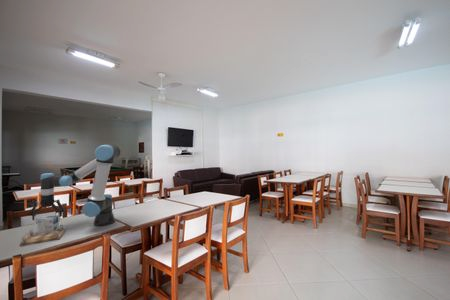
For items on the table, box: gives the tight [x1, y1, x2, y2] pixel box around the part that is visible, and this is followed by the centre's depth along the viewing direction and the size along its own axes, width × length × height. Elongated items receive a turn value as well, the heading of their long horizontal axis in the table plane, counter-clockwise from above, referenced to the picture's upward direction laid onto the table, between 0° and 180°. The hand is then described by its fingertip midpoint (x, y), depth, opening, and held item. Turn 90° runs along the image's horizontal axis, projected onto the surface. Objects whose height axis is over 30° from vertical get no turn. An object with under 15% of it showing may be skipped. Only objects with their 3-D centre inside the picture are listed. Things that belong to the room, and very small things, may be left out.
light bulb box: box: [36, 214, 60, 234], centre depth 153 cm, size 11×7×11 cm, turn 100°
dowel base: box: [19, 224, 66, 247], centre depth 140 cm, size 20×15×6 cm
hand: (47, 222), depth 153 cm, fingers open, 13 cm apart
